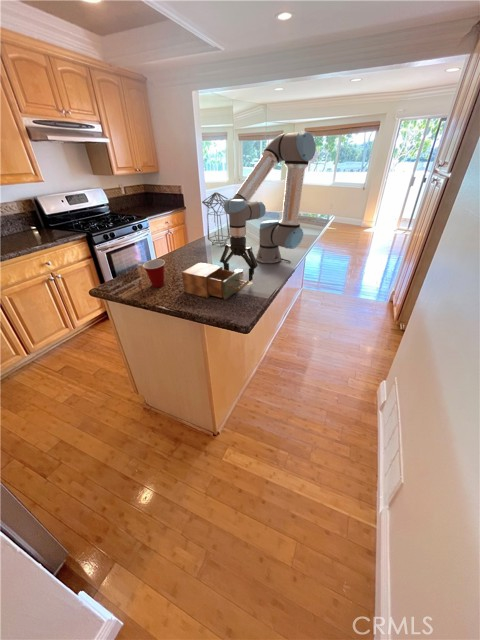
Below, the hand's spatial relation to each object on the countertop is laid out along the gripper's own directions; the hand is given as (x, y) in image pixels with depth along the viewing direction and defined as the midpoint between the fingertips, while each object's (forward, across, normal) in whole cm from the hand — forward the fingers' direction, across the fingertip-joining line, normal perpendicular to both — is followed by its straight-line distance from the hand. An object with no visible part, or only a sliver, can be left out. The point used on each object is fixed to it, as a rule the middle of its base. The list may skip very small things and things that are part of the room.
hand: (238, 278), depth 136 cm
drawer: (+2, -1, +14) cm, 14 cm away
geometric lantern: (+3, +46, -54) cm, 72 cm away
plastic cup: (+3, +36, +20) cm, 42 cm away
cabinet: (+3, +12, +14) cm, 18 cm away
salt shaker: (+3, 0, 0) cm, 3 cm away
